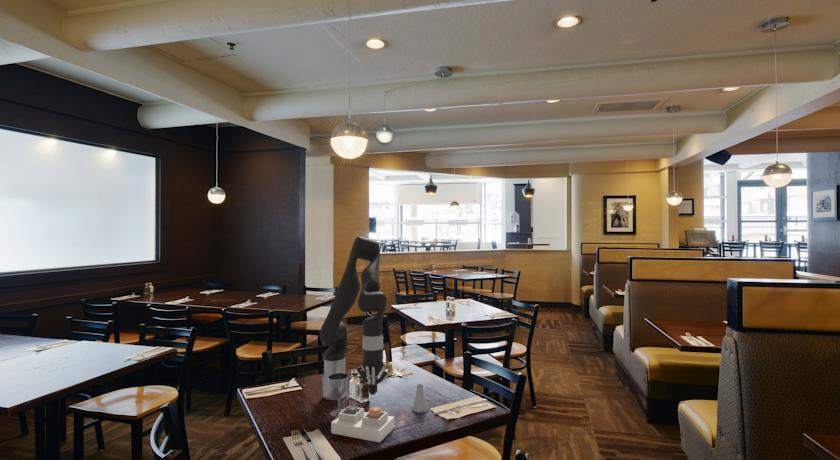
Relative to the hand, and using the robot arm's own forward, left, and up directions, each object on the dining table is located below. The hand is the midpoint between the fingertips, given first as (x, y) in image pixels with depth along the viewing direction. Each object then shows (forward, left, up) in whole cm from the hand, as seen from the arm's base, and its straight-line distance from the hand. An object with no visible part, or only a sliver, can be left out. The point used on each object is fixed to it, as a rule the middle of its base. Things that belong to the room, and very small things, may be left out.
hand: (373, 393), depth 157 cm
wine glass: (-22, +10, -15) cm, 28 cm away
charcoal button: (-10, 0, -10) cm, 14 cm away
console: (-5, 0, -14) cm, 15 cm away
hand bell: (-24, +58, -15) cm, 65 cm away
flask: (+8, +24, -15) cm, 30 cm away
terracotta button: (0, 0, -9) cm, 9 cm away
